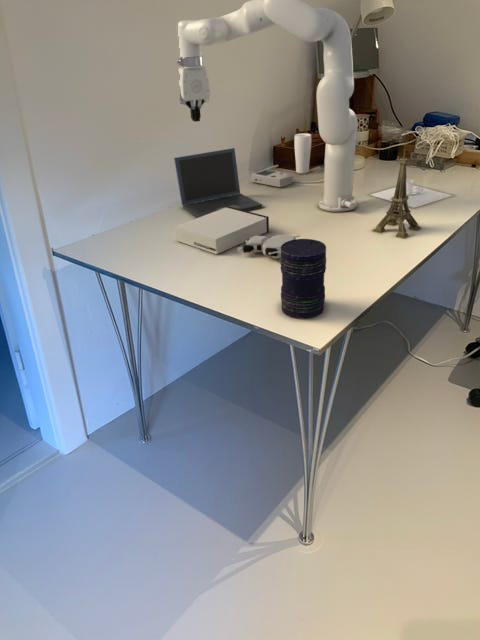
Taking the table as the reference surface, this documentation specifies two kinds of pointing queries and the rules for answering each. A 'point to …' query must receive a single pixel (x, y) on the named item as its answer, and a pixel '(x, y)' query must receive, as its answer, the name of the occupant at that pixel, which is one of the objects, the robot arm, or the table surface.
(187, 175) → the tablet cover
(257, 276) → the table surface
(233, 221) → the disc drive
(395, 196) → the eiffel tower
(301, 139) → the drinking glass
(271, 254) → the robot toy
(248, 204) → the dark grey flat slab
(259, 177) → the handheld gaming device
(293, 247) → the dark blue cylinder
